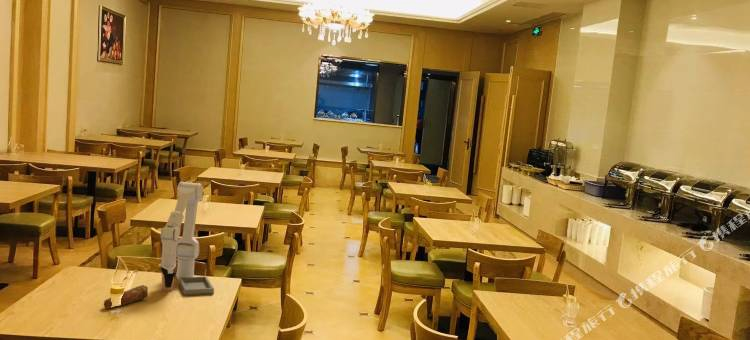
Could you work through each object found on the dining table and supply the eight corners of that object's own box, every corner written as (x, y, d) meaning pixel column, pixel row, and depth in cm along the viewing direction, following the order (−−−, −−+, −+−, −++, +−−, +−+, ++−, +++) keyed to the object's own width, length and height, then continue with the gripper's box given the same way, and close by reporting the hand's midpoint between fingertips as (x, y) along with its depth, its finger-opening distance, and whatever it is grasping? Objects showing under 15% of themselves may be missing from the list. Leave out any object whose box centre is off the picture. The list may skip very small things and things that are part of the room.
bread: (149, 299, 258) (149, 286, 257) (109, 311, 241) (110, 297, 241) (138, 296, 261) (138, 283, 260) (98, 307, 244) (99, 293, 244)
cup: (159, 288, 273) (160, 272, 272) (172, 287, 275) (173, 271, 275) (161, 291, 268) (162, 275, 268) (174, 291, 271) (175, 275, 270)
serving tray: (178, 282, 283) (179, 277, 282) (206, 281, 288) (206, 276, 287) (184, 295, 266) (185, 289, 266) (213, 294, 271) (214, 288, 271)
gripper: (157, 250, 275) (155, 280, 277) (161, 259, 262) (159, 290, 263) (174, 249, 278) (172, 280, 280) (178, 258, 265) (177, 290, 266)
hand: (167, 285), depth 272 cm, fingers closed on cup, 5 cm apart
